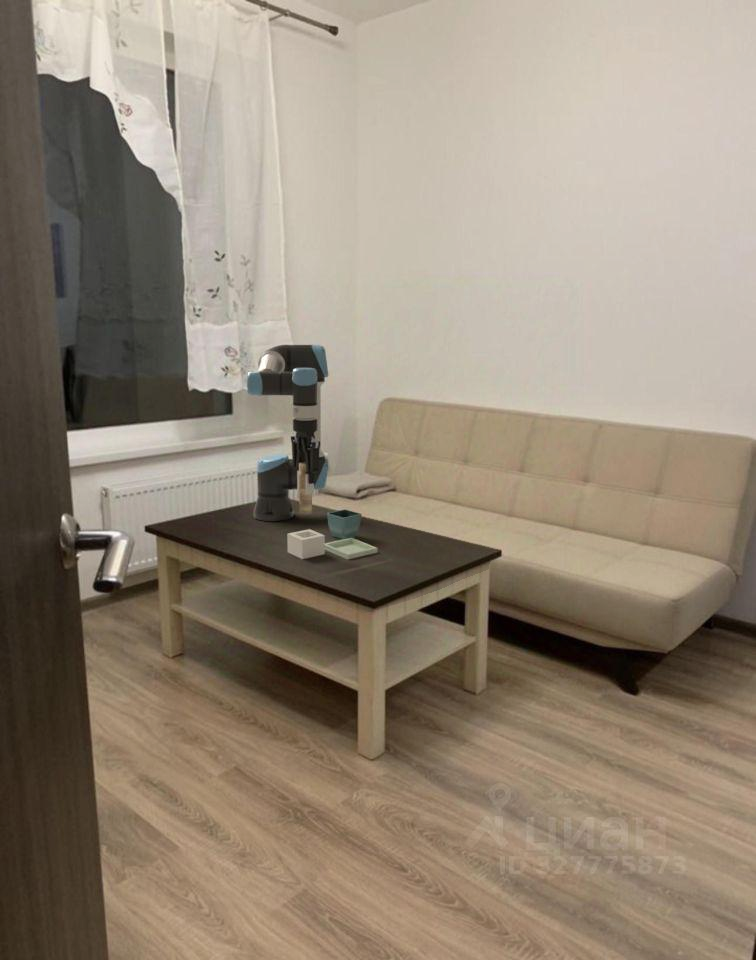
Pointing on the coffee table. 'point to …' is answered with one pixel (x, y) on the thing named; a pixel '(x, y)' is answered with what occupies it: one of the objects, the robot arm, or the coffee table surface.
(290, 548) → the hollow block
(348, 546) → the tray
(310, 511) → the dowel
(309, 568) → the coffee table surface
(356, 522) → the flower pot
